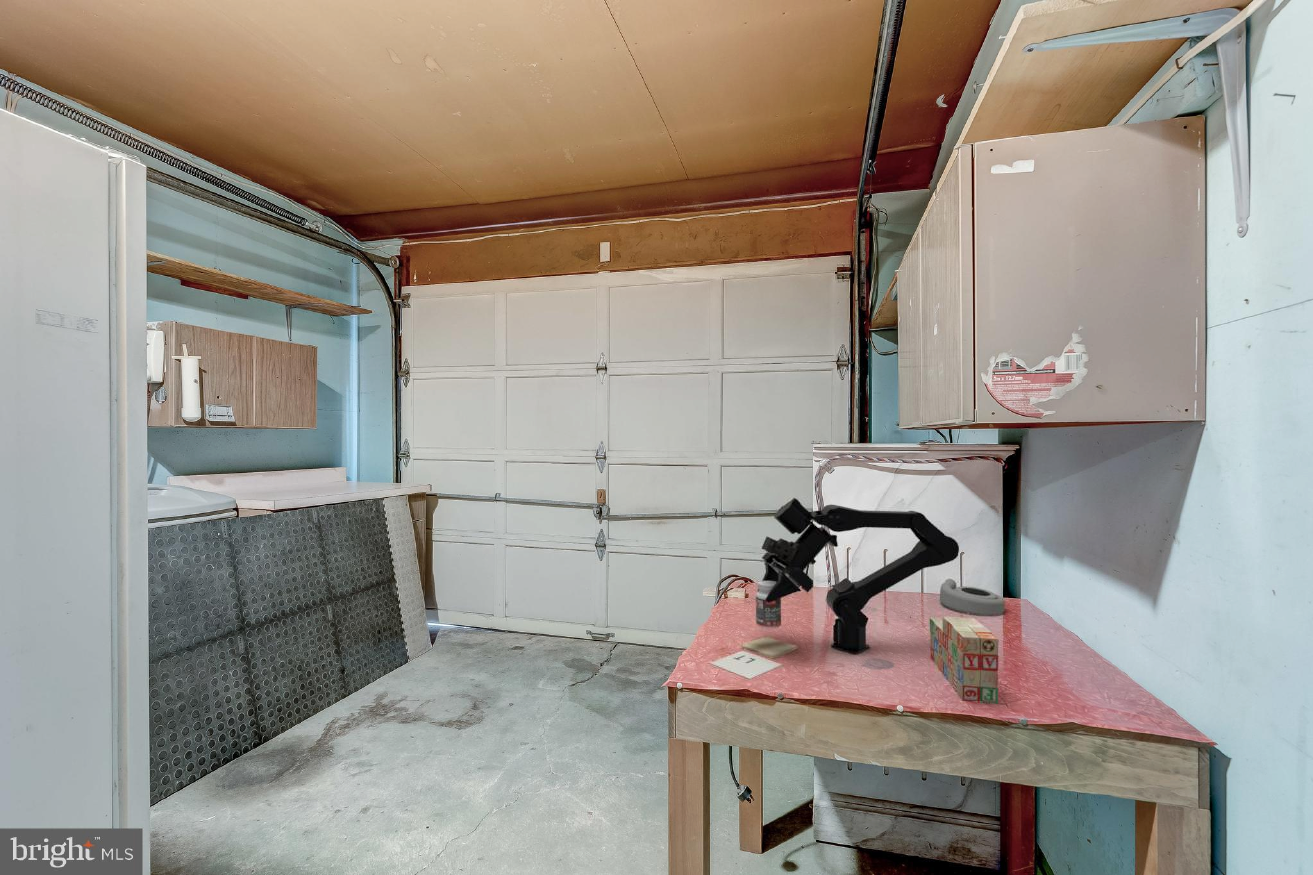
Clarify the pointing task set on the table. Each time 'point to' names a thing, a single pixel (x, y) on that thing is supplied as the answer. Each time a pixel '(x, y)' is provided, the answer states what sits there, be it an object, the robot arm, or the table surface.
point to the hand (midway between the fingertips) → (762, 597)
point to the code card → (746, 664)
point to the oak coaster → (769, 647)
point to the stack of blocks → (966, 657)
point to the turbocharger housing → (971, 599)
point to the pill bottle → (767, 607)
